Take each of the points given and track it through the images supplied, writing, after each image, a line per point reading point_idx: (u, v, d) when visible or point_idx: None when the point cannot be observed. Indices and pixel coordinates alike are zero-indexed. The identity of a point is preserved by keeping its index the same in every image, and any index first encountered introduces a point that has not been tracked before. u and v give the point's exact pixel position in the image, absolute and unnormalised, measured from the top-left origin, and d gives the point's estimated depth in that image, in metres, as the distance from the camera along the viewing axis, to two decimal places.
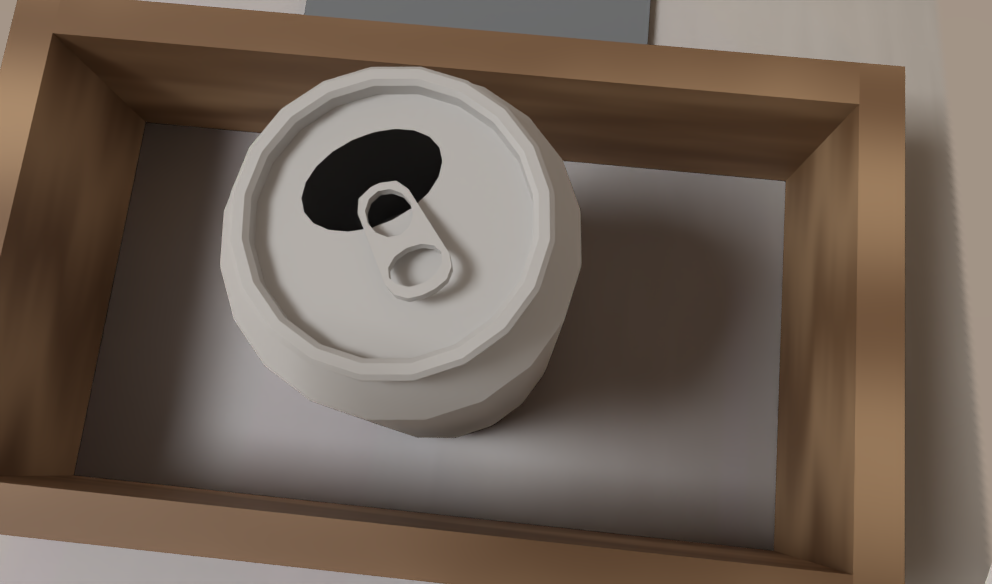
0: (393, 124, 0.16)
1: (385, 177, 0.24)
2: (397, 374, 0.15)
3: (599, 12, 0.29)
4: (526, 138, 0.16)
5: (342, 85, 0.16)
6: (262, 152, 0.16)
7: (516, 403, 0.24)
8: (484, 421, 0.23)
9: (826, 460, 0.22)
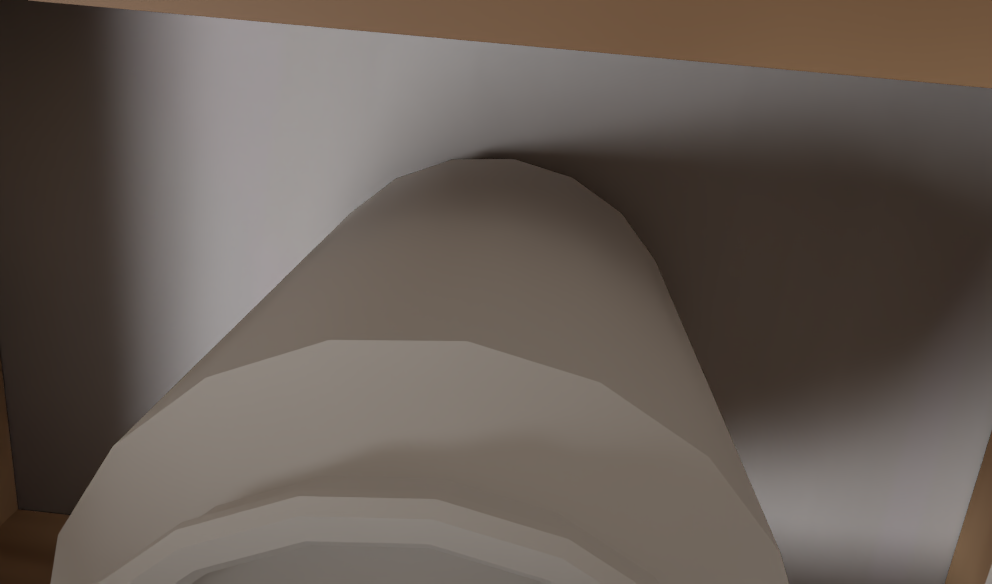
0: None
1: (383, 210, 0.13)
2: None
3: None
4: None
5: (228, 552, 0.06)
6: None
7: None
8: None
9: None
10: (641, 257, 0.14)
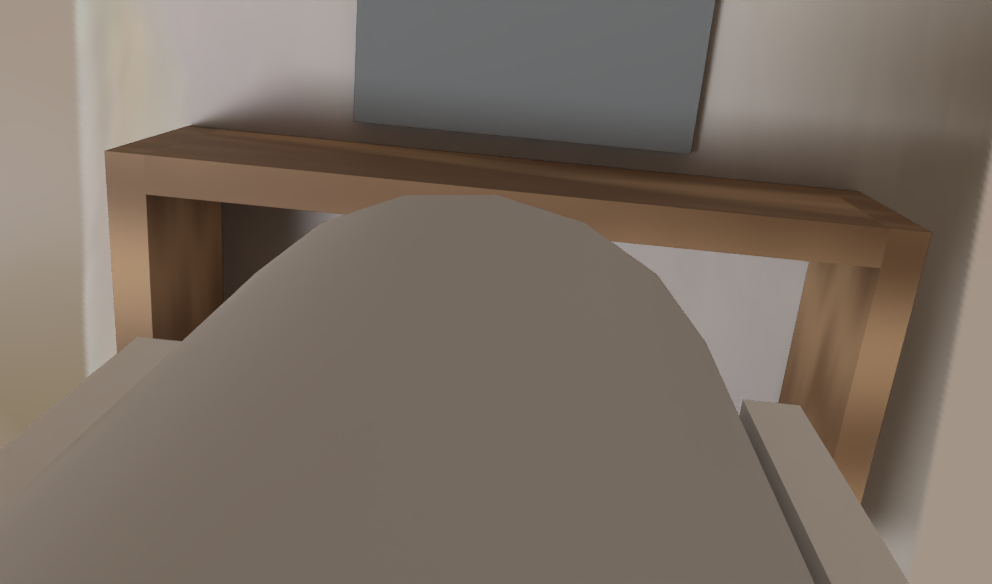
0: None
1: (265, 305, 0.07)
2: None
3: (655, 48, 0.28)
4: None
5: None
6: None
7: None
8: None
9: None
10: (699, 366, 0.09)
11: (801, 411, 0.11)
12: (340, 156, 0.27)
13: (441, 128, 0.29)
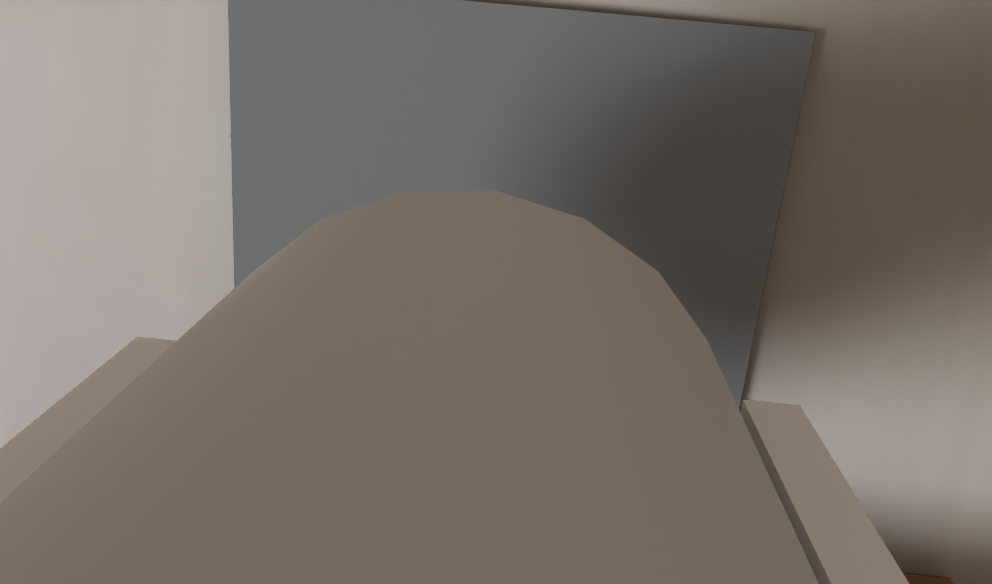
0: None
1: (266, 300, 0.07)
2: None
3: None
4: None
5: None
6: None
7: None
8: None
9: None
10: (700, 362, 0.08)
11: (801, 411, 0.11)
12: None
13: None
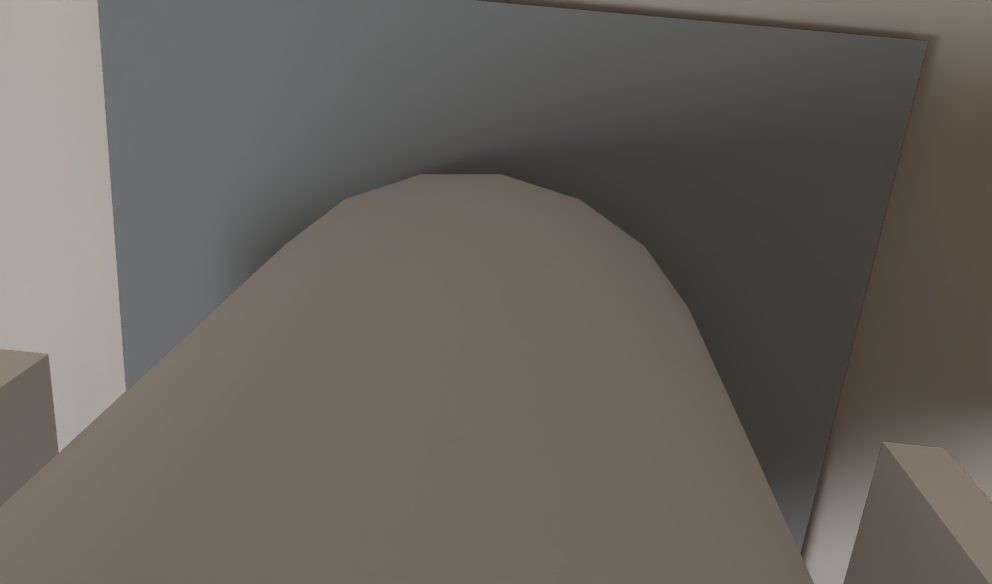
0: None
1: (307, 260, 0.09)
2: None
3: None
4: None
5: None
6: None
7: None
8: None
9: None
10: (678, 319, 0.10)
11: (948, 455, 0.10)
12: None
13: None
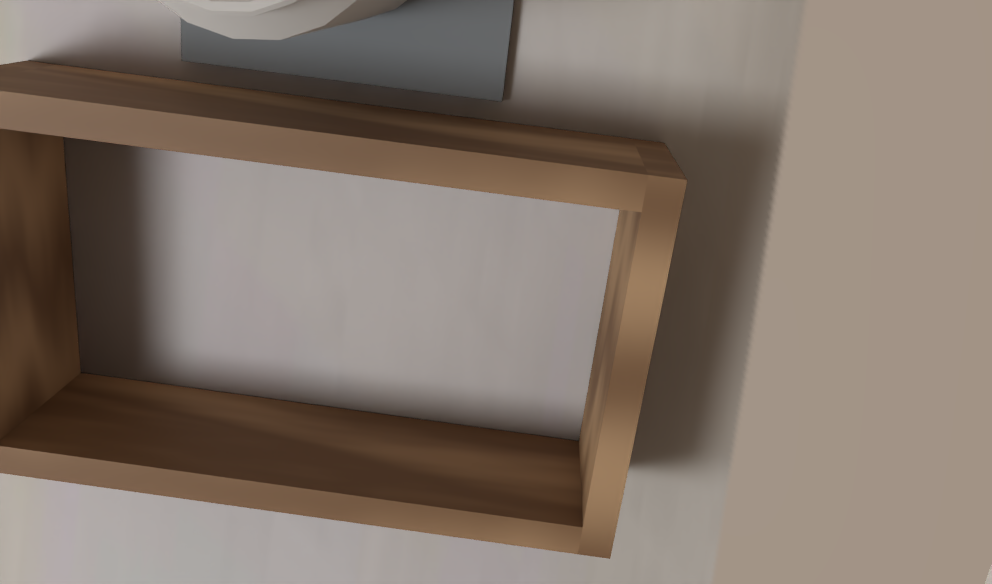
0: None
1: None
2: (240, 11, 0.19)
3: None
4: None
5: None
6: None
7: None
8: (372, 14, 0.26)
9: (592, 437, 0.31)
10: None
11: None
12: (155, 93, 0.29)
13: (265, 69, 0.31)
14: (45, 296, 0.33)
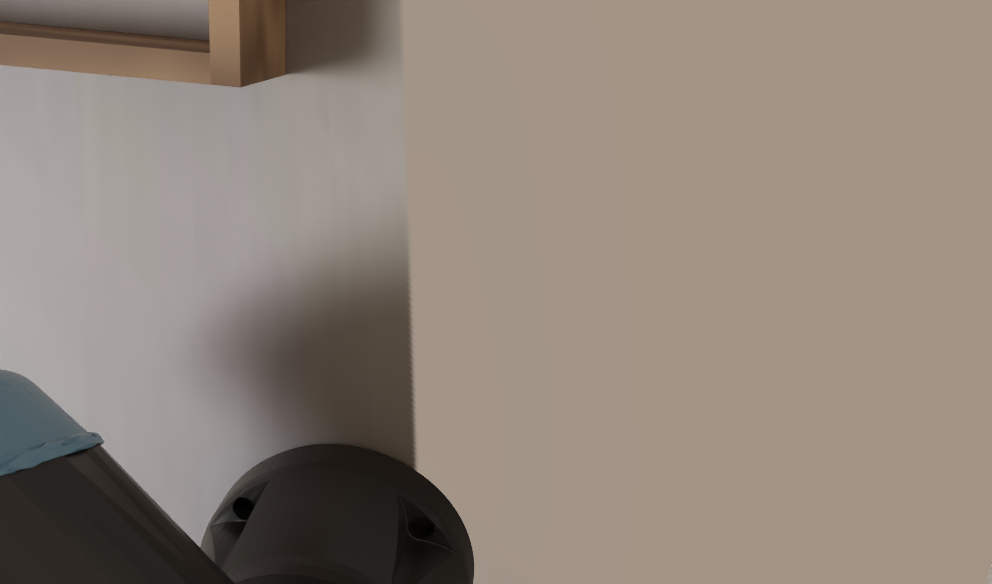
0: None
1: None
2: None
3: None
4: None
5: None
6: None
7: None
8: None
9: None
10: None
11: None
12: None
13: None
14: None
